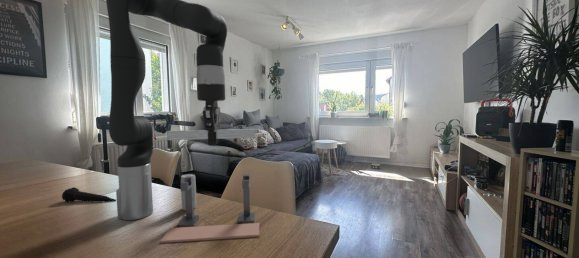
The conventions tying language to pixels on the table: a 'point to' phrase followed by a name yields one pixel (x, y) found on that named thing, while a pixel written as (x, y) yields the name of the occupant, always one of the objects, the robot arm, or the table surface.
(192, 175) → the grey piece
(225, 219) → the table surface
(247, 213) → the hook standards
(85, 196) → the microphone
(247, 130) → the steel rail
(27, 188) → the table surface
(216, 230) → the felt mat
